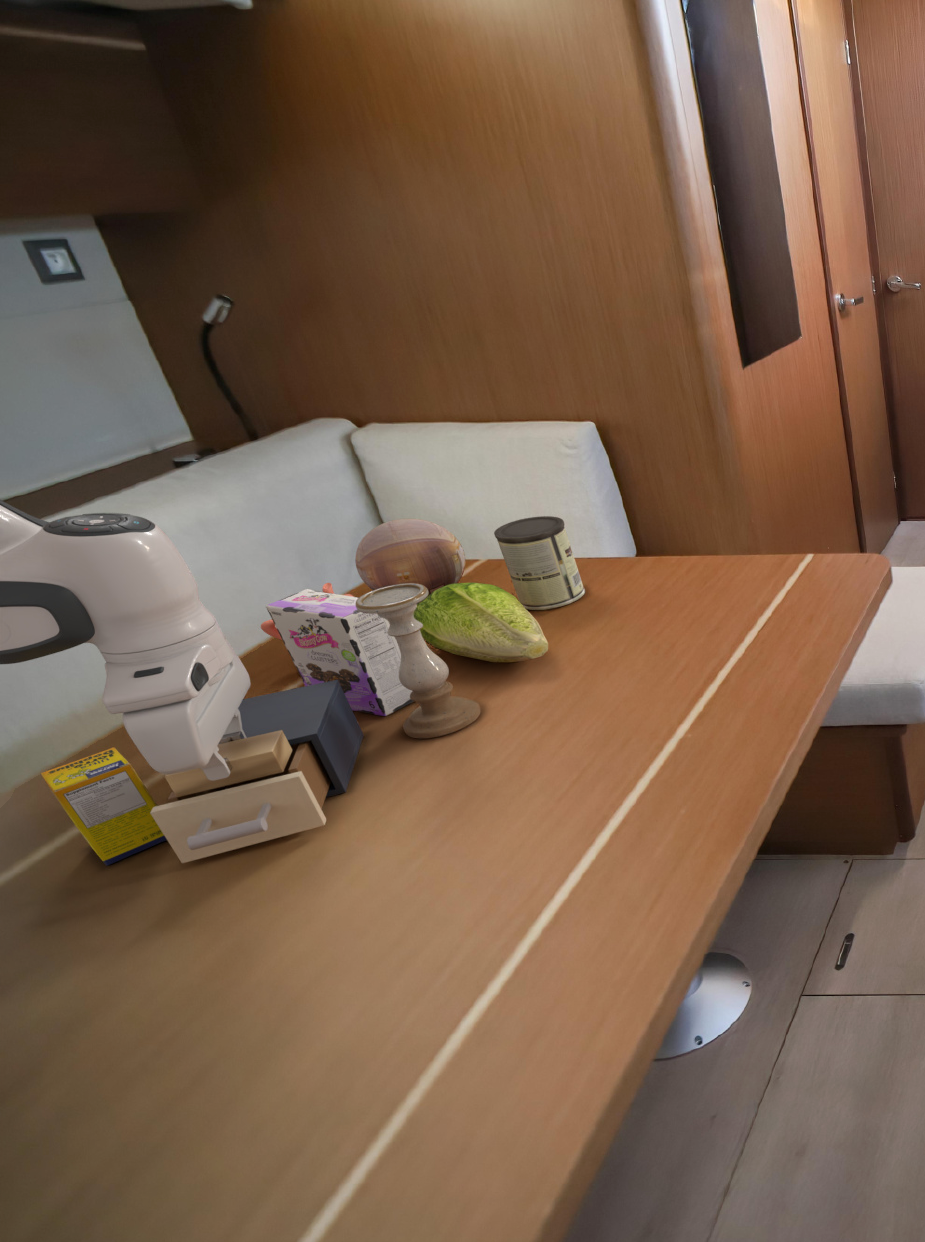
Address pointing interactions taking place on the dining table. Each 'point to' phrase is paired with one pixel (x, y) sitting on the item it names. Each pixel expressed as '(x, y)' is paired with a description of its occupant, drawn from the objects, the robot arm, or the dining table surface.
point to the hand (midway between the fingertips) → (229, 760)
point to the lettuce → (480, 623)
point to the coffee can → (540, 562)
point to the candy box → (342, 649)
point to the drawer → (247, 809)
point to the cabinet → (310, 725)
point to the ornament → (410, 555)
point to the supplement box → (107, 804)
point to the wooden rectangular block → (238, 763)
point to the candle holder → (419, 664)
